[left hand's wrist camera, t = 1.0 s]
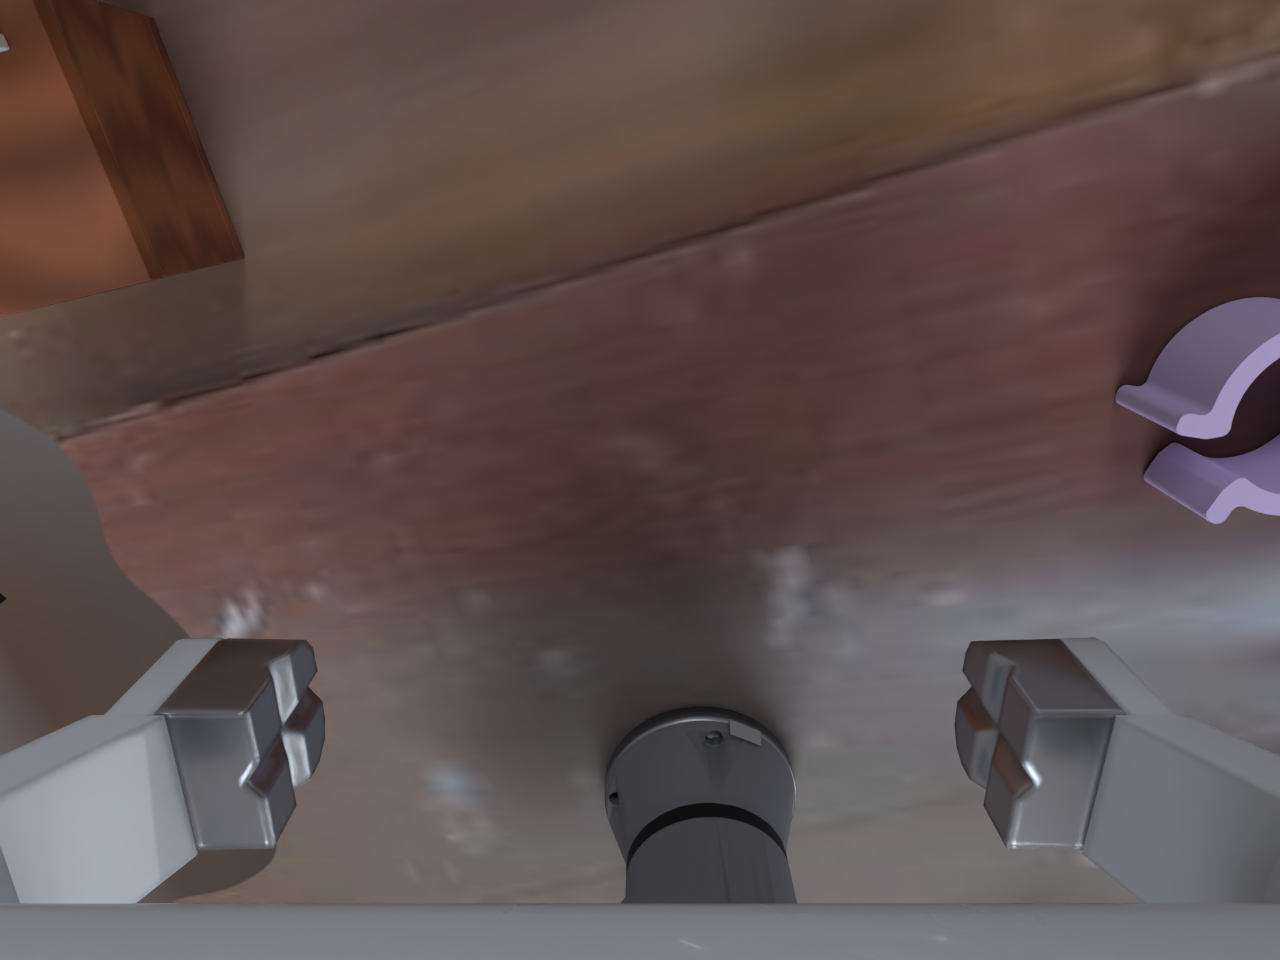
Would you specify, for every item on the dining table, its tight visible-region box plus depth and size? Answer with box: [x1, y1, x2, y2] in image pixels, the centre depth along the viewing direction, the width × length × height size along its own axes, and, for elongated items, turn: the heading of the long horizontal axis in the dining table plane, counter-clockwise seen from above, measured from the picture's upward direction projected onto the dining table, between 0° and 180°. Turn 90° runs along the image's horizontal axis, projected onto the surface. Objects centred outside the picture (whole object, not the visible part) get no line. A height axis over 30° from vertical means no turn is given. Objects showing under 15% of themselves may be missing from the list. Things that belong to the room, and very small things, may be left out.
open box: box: [10, 0, 244, 315], centre depth 47 cm, size 14×10×10 cm
